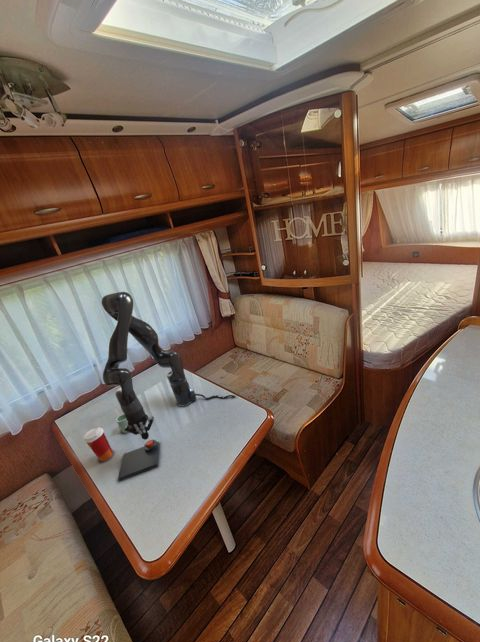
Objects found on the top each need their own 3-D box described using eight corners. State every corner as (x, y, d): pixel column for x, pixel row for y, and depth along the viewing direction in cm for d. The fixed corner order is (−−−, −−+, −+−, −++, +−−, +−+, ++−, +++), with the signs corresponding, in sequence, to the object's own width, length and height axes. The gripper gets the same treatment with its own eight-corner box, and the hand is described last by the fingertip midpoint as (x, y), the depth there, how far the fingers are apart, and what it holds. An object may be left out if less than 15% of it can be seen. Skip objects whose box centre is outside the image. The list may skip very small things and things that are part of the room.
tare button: (153, 441, 128) (152, 439, 127) (153, 446, 125) (152, 443, 125) (147, 444, 127) (146, 441, 127) (146, 448, 125) (145, 445, 124)
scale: (159, 443, 131) (156, 437, 129) (157, 466, 118) (155, 460, 117) (125, 455, 128) (122, 450, 126) (119, 481, 115) (116, 475, 113)
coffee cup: (102, 451, 133) (88, 428, 127) (118, 447, 133) (105, 424, 127) (93, 465, 126) (78, 442, 120) (111, 461, 126) (97, 438, 120)
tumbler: (134, 423, 149) (129, 411, 145) (133, 430, 143) (127, 419, 140) (123, 427, 147) (117, 415, 144) (121, 434, 142) (115, 423, 139)
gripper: (114, 419, 113) (130, 449, 120) (147, 408, 115) (160, 438, 122) (118, 408, 119) (132, 437, 126) (148, 398, 122) (161, 427, 129)
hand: (146, 438), depth 124 cm, fingers closed
